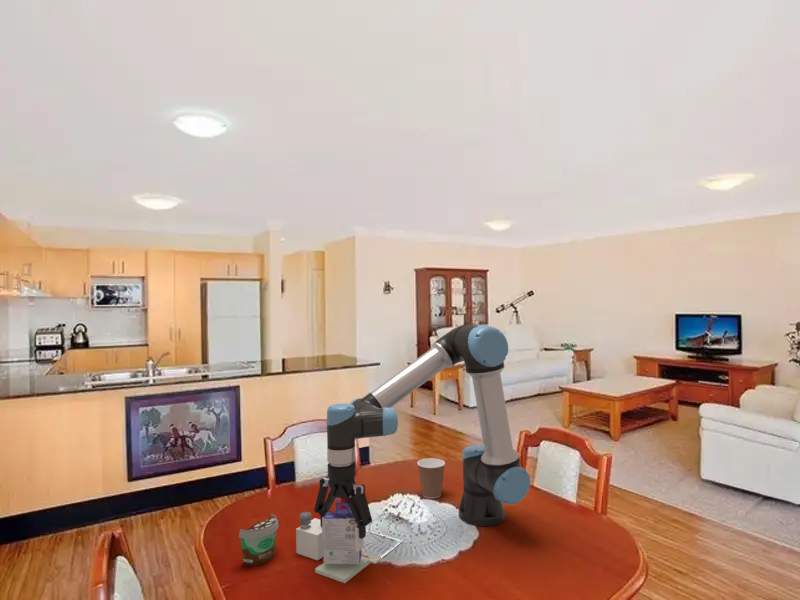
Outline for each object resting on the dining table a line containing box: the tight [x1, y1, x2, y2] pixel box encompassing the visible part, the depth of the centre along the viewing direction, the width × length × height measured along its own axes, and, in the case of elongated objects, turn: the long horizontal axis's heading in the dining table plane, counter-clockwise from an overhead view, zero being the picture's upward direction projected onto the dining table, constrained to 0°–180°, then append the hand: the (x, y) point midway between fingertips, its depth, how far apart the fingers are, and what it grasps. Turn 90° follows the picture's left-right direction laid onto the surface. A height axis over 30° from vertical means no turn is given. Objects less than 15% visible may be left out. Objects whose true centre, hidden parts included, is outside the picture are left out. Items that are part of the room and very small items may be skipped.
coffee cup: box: [417, 457, 446, 500], centre depth 182 cm, size 10×10×12 cm
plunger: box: [299, 511, 312, 529], centre depth 141 cm, size 3×3×6 cm
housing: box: [295, 517, 382, 565], centre depth 143 cm, size 23×22×7 cm
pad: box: [314, 556, 371, 584], centre depth 132 cm, size 10×11×1 cm
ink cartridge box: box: [323, 503, 363, 564], centre depth 132 cm, size 10×6×14 cm, turn 89°
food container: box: [238, 513, 279, 566], centre depth 137 cm, size 12×6×10 cm, turn 148°
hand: (342, 544), depth 132 cm, fingers closed on ink cartridge box, 11 cm apart
